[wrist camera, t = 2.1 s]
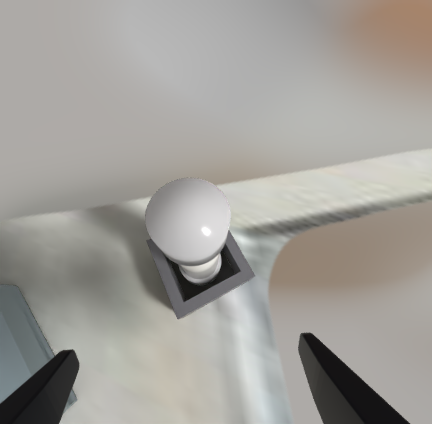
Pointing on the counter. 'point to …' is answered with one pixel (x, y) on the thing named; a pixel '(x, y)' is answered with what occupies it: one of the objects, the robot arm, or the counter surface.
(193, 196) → the white rounded column
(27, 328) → the parts tray
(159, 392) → the counter surface
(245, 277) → the light bulb socket
